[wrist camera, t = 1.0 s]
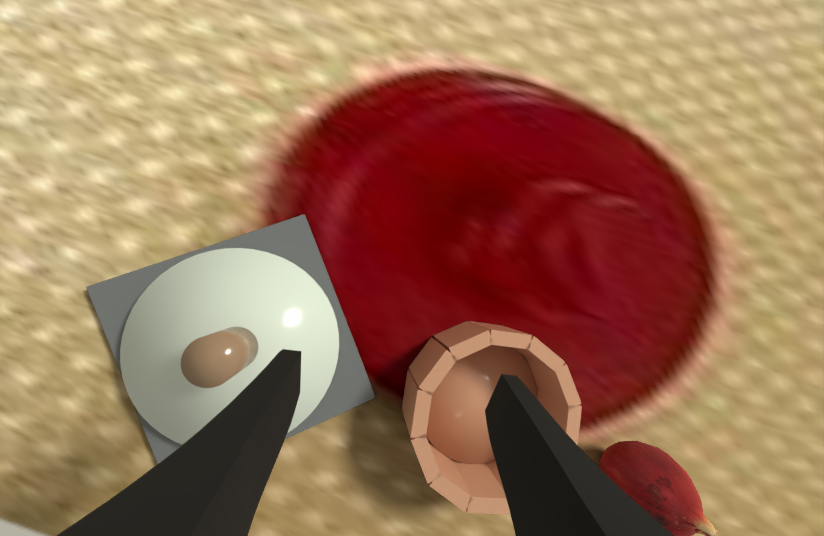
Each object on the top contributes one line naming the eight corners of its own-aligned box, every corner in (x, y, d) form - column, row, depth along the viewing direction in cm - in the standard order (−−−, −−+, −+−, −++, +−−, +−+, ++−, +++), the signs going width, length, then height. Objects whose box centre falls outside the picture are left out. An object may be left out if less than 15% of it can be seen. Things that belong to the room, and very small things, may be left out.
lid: (174, 481, 20) (124, 534, 16) (97, 291, 20) (26, 293, 16) (367, 394, 23) (367, 420, 18) (299, 222, 22) (284, 208, 18)
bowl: (435, 497, 24) (452, 547, 19) (381, 357, 23) (385, 375, 19) (561, 430, 26) (603, 461, 21) (512, 301, 25) (544, 305, 21)
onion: (579, 496, 26) (675, 592, 18) (573, 429, 26) (665, 494, 18) (637, 484, 27) (753, 570, 19) (631, 419, 27) (743, 476, 19)
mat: (173, 486, 21) (169, 491, 20) (92, 286, 21) (86, 286, 20) (375, 395, 23) (375, 397, 23) (305, 215, 23) (304, 214, 23)
